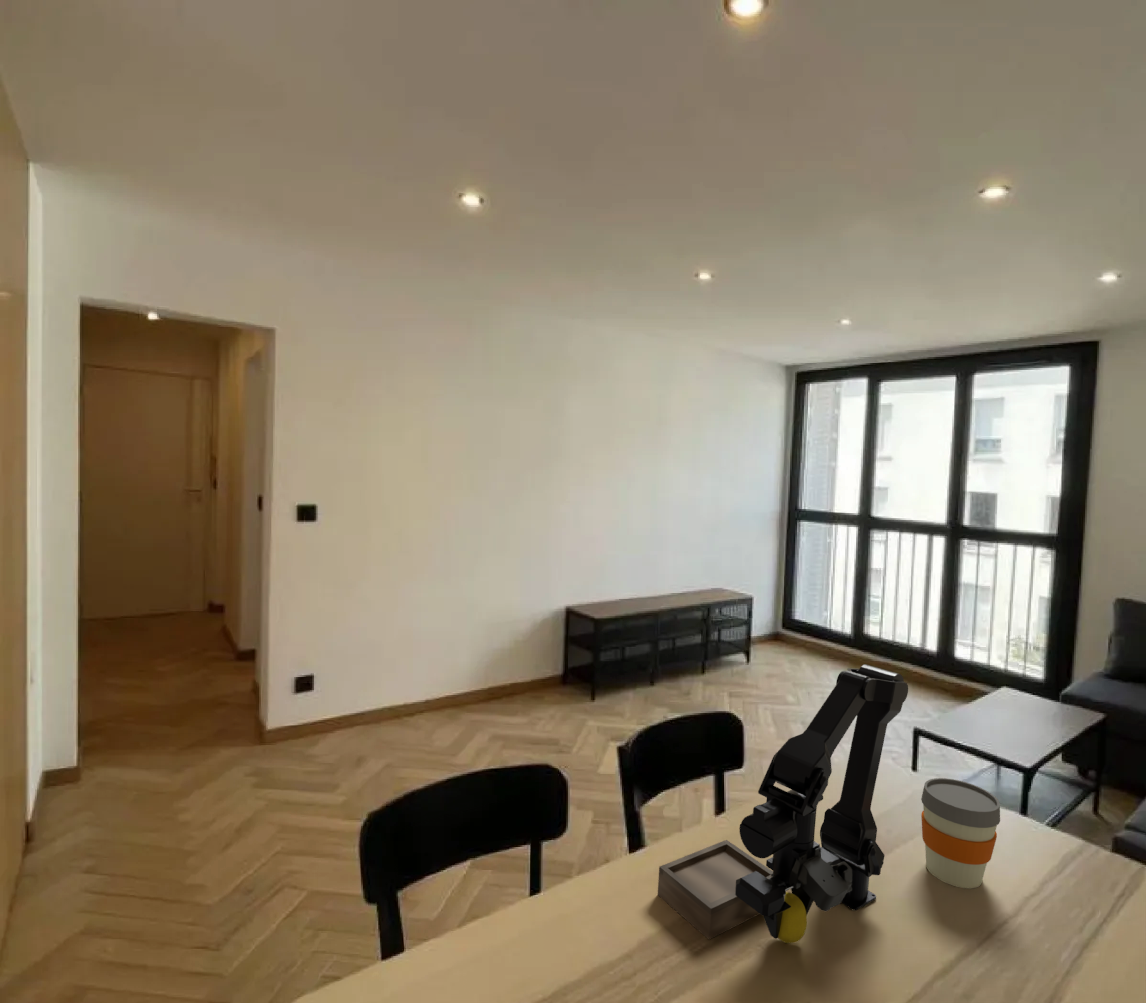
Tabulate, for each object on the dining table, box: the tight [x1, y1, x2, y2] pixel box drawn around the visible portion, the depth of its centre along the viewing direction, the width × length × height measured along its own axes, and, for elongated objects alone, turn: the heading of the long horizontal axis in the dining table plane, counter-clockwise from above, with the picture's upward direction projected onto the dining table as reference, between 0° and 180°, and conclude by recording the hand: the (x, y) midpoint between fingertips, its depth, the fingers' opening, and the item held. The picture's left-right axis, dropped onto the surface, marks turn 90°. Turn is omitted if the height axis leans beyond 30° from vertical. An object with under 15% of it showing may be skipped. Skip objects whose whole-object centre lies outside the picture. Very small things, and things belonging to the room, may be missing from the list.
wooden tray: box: [657, 839, 773, 940], centre depth 114 cm, size 16×12×5 cm
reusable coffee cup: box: [920, 777, 1001, 889], centre depth 124 cm, size 13×12×15 cm
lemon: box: [777, 891, 808, 944], centre depth 104 cm, size 6×6×8 cm
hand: (786, 930), depth 104 cm, fingers closed on lemon, 5 cm apart
